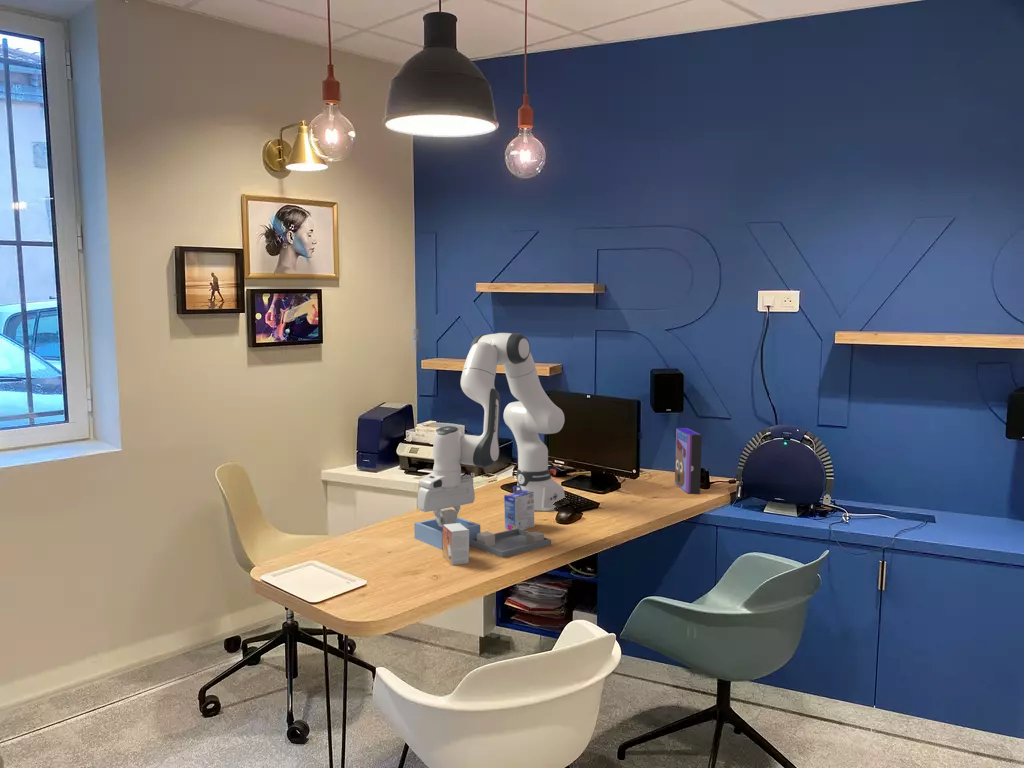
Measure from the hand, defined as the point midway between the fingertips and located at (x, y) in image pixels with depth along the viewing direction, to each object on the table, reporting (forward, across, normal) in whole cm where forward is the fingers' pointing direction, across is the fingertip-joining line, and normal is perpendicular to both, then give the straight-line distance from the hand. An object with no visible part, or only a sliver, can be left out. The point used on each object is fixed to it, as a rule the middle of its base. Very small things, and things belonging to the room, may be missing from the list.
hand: (446, 520), depth 257 cm
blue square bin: (+6, 0, 0) cm, 7 cm away
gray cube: (+6, -18, +22) cm, 29 cm away
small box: (+7, +10, +18) cm, 22 cm away
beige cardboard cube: (+2, 0, 0) cm, 2 cm away
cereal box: (+6, -118, +4) cm, 118 cm away
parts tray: (+6, -12, +17) cm, 22 cm away
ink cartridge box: (+7, -27, +4) cm, 28 cm away
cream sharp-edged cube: (+6, -6, +12) cm, 15 cm away
